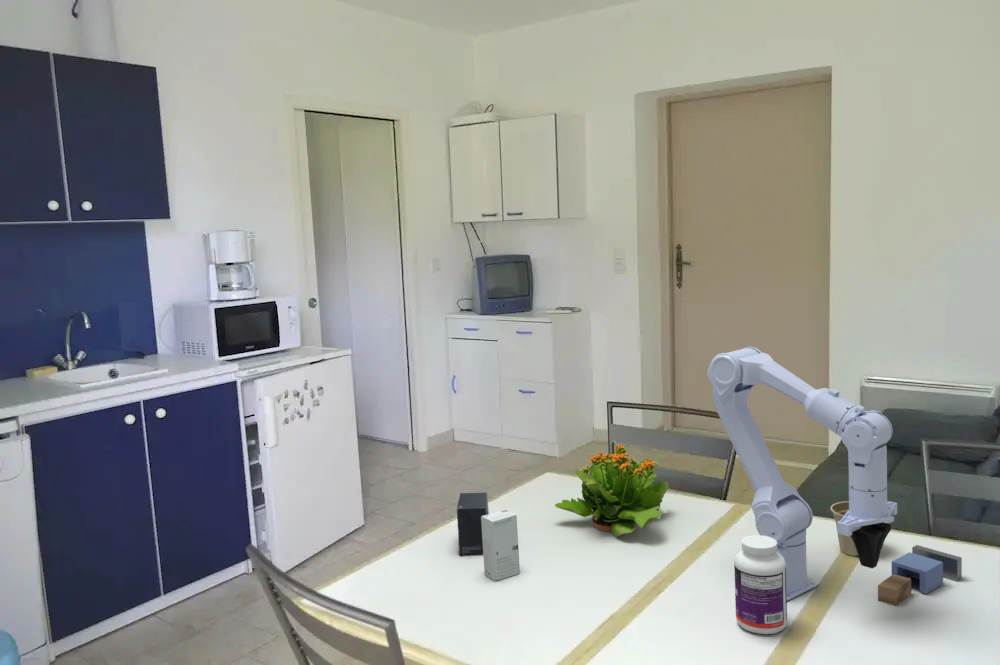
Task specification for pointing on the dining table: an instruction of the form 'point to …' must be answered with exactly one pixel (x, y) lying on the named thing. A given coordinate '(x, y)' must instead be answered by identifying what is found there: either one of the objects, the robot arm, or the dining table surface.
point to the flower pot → (844, 541)
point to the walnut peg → (894, 589)
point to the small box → (471, 522)
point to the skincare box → (500, 545)
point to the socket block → (919, 570)
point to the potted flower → (618, 492)
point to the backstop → (950, 562)
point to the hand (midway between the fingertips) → (868, 565)
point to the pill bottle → (760, 586)
